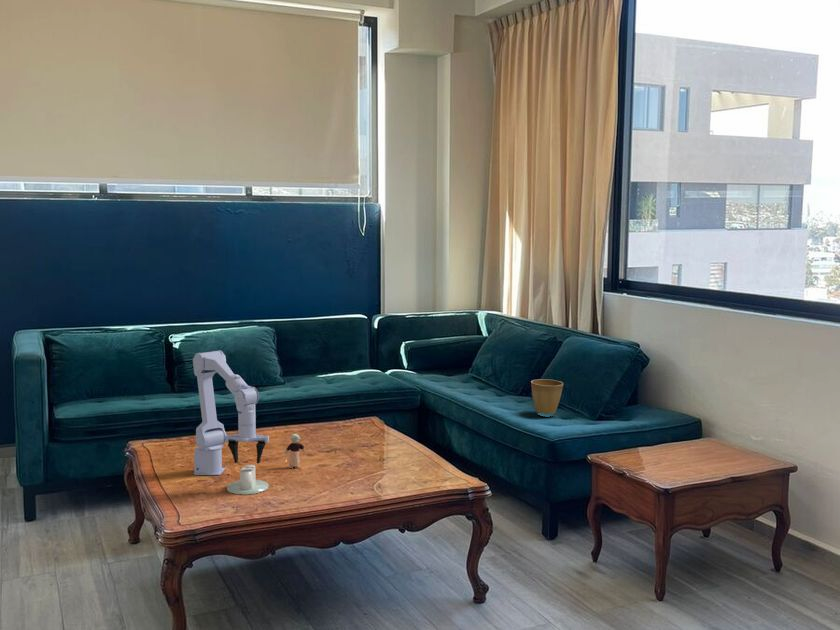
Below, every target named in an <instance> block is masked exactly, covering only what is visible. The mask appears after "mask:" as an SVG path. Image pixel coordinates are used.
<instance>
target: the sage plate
mask: <svg viewBox="0 0 840 630" xmlns="http://www.w3.org/2000/svg"><path fill="white" fill-rule="evenodd" d="M269 488H270V484H269V483H268V482H266V481H265V480H261V479H256V484H255V485H254V487H253V488H252V489H250V490H241V489H240V480H236V481H233V482H231V483H229V484H228V485H227V486H226V491H227V493H230V494H233V493H234V495H239V494H242V495H241V496H247V495H249V494H251V495H256V493H257V494H261V493H263V491H264V492H266V491H267V490H268V489H269ZM265 490H266V491H265ZM260 492H261V493H260Z"/></svg>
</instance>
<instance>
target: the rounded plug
mask: <svg viewBox="0 0 840 630" xmlns="http://www.w3.org/2000/svg"><path fill="white" fill-rule="evenodd" d="M256 471H257V470H256V465H254V464H247V465H246V464H245V465H244V466H243V467H242V468H241V469H240V470H239V481H240V489H241V490H250V489H252V488H253V487H254V485H255V484H256V480H257V478H256Z"/></svg>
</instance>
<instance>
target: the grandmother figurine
mask: <svg viewBox="0 0 840 630" xmlns="http://www.w3.org/2000/svg"><path fill="white" fill-rule="evenodd" d="M300 439H301V437H300V435H298V434H297V433H292V434H291V436H290V440H291V442H292V443H291V442H290V444H288V446H287V447H286V449H285V452H284V455H288V453H289V459H288V462H289V466H288V469H289V468H292V469H294V468H295V467H300V468H301V465H300V461H301V460H300V457H301V456H300V450H301V451H302V453H306V449H305V446H304V445H303V444H302V443H300V442H299V441H300ZM289 451H290V452H289ZM293 467H294V468H293Z"/></svg>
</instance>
